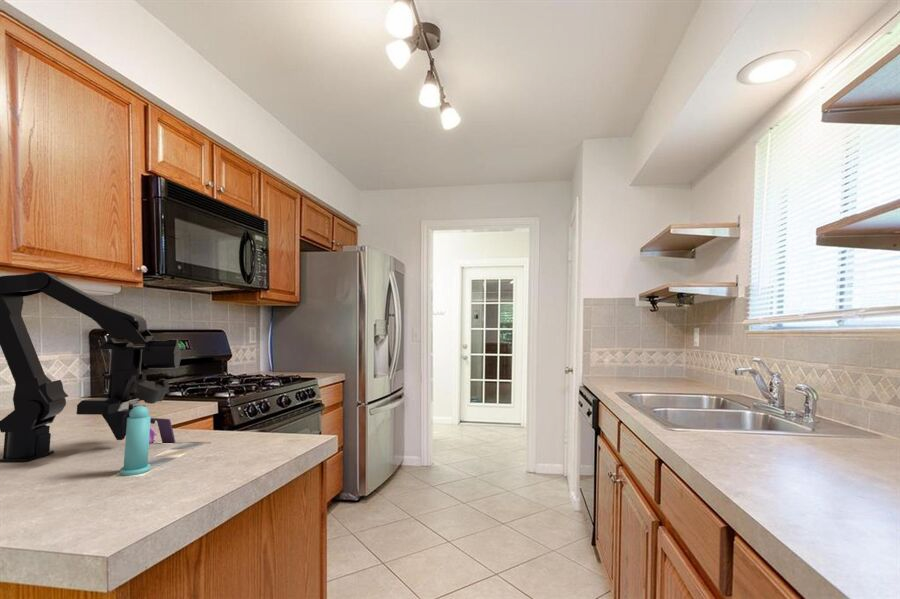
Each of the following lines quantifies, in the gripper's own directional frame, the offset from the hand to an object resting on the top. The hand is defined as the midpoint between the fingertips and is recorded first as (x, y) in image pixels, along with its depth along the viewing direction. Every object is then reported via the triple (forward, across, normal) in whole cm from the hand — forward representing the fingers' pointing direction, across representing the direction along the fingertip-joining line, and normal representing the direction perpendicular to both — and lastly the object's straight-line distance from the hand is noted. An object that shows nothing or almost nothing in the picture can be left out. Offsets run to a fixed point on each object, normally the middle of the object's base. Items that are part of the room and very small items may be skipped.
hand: (120, 439), depth 95 cm
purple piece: (+3, +5, -4) cm, 7 cm away
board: (+2, -7, -13) cm, 15 cm away
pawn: (+2, -16, -14) cm, 22 cm away
